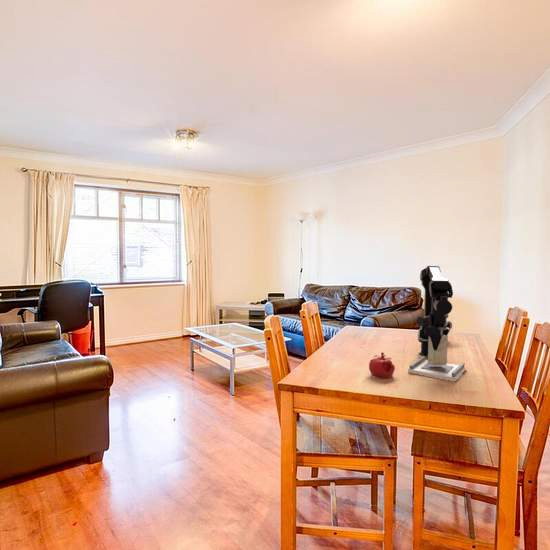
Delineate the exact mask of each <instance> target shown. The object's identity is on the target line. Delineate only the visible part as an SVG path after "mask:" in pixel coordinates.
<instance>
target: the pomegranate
mask: <svg viewBox="0 0 550 550" xmlns="http://www.w3.org/2000/svg"><path fill="white" fill-rule="evenodd" d="M380 354H381V355H377V354H375V355H374V356H373V357H372V358H371V359H370V361H369V363H368V370H369V372H370V374H371V375H373V376H374V377H376V378H380V379H381V378H382V379H387V378H391V377H392V376H393V375H394V372H395V370H396V366H395V365H394V363H393V361H391V360H392V358H391V357H386V356H387V355H386V354H385V352H383V351H382V352H380Z"/></svg>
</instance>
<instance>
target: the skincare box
mask: <svg viewBox="0 0 550 550" xmlns="http://www.w3.org/2000/svg"><path fill="white" fill-rule="evenodd" d="M448 338H449V336H448V335H444V334H443V337H442V339H441V341H440V344H439V346H438V349H437V350H434V349H433V345H432V341H431V338H430V337H429V341H428V356H427V360H428V363H429V364H431V365H434V366H438V365H447V363H448V344H449V343H448Z"/></svg>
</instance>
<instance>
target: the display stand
mask: <svg viewBox="0 0 550 550" xmlns="http://www.w3.org/2000/svg"><path fill="white" fill-rule="evenodd" d="M465 370H467V366H465V362H461V363H460V364H459V365H458V364H454V363H448V362H447V365H438V366H434V365H431V364H429V363H428V359H426V356H425V355H421V357H420V358H418V359H416V360H415V361H414V362H412V363H411V364H409V368H408V369H407V373H408V374H412V373H413V374H414V375H417V374H419V376H423V375H424V376H423V377H428V376H429V378H433V377H434V379H438V378H439V380H443V379H444V380H443V381H448V380H450V381H449V382H453V381H456V380H457V379H458V380H459V379H460V378H461V376H462V375H463V374H464V373H465V372H466V371H465ZM464 371H465V372H464ZM463 372H464V373H463ZM462 373H463V374H462ZM458 380H457V381H458ZM457 381H456V382H457Z"/></svg>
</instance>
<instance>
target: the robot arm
mask: <svg viewBox="0 0 550 550" xmlns="http://www.w3.org/2000/svg"><path fill="white" fill-rule="evenodd" d="M419 280H420V282H421V285H422V288H423V290H424V300H423V301H424V308H423V309H424V310H423V311H424V312H423V315H420V316H418V317H417V318H416V319H415V320H416V321H415V324H417V326H418V327H420V328H419V329H418V332H417V333H418V334H417V341H418V342H419V343H420V352H418V355H419V354H420V356H425V355H426V356H427V357H428V341H429V337H430V338H431V341H432V345H433V349H434V350H437V349H438V346H439V344H440V341H441V339H442V337H443V334H444V335H447V336H448V335H449V333H450V331H451V329H453V323H452V322H451V321H449V320H447V319H448V318H447V316H448V317H449V314H450V313H451V312H452V310H453V305H452V303H451V301H449V299H452V298H453V295H454V292H453V291H454V290H453V285H451V282H450V281H449V279H448V278H446V277H443V275H442V271H441V268H440V265H433V264H432V265H430V264H429V265H427V266H426V267H424V268H423V269H421V271H420V275H419ZM447 328H448V329H447ZM426 356H425V357H426Z"/></svg>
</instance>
